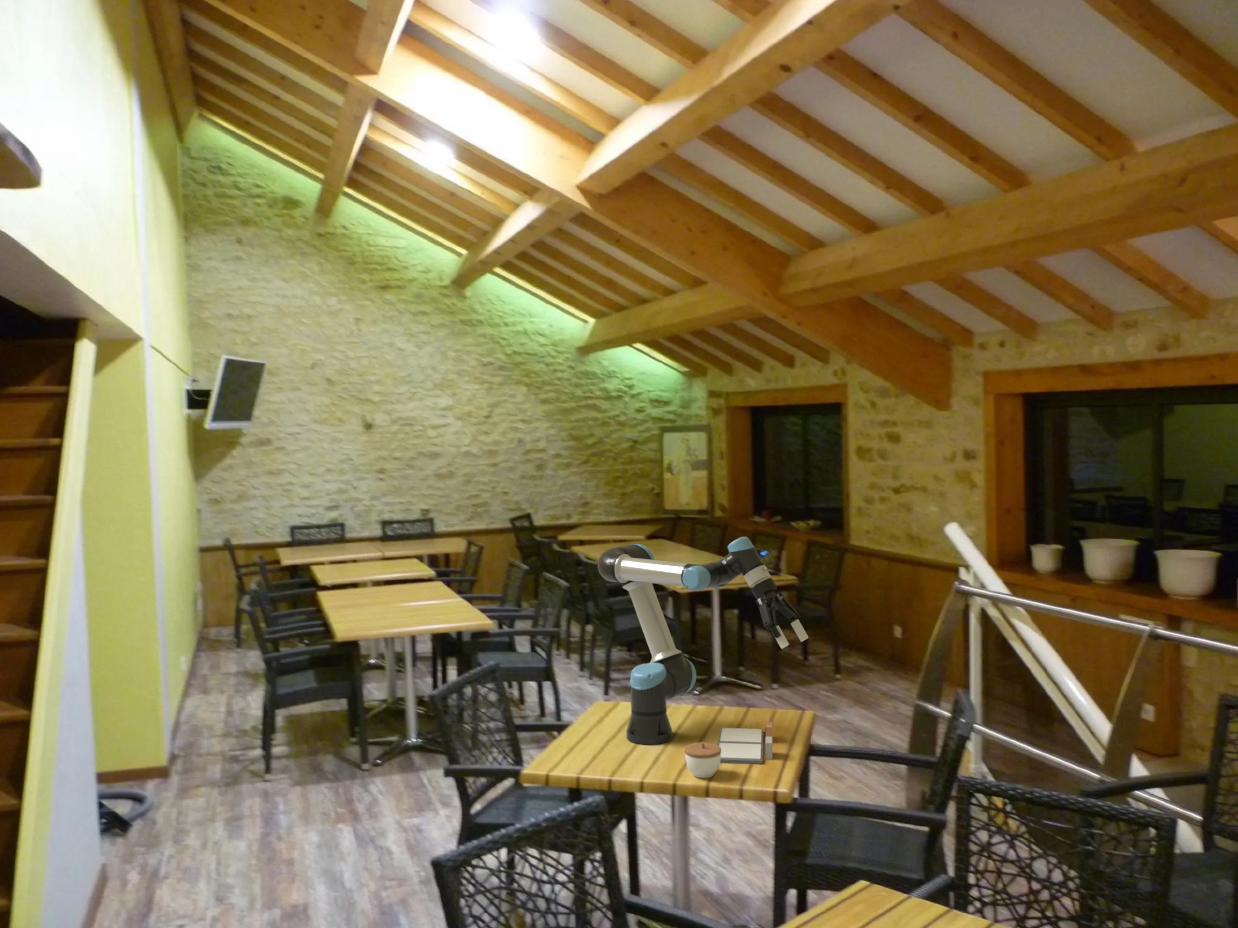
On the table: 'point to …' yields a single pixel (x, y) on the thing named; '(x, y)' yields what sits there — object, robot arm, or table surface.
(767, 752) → the board
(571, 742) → the table surface
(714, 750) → the lidded jar
